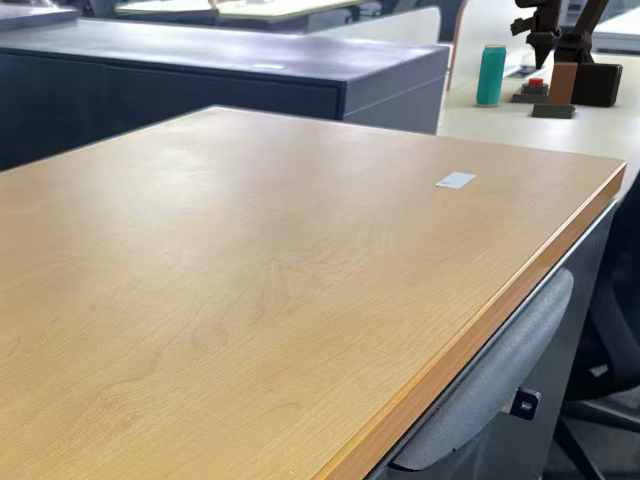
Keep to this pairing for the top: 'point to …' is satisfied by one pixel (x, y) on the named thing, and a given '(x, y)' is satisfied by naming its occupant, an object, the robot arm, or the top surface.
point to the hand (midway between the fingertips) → (538, 69)
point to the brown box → (562, 83)
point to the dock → (553, 111)
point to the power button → (535, 81)
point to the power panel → (531, 94)
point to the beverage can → (491, 75)
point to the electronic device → (596, 84)
